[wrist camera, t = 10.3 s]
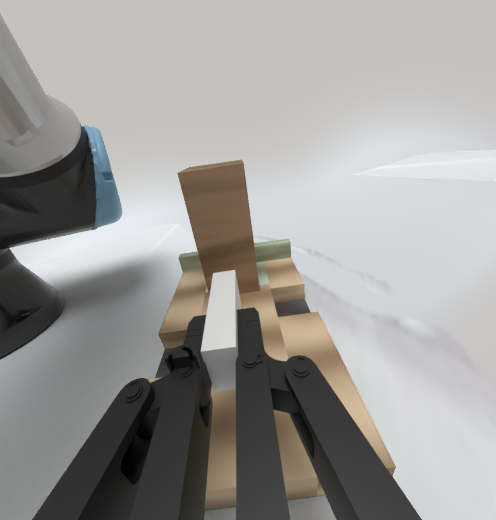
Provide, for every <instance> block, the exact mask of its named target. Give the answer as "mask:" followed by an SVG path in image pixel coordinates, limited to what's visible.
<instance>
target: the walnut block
mask: <svg viewBox="0 0 496 520" xmlns="http://www.w3.org/2000/svg"><path fill="white" fill-rule="evenodd" d="M178 177H179V181H180V184H181V188H182V192H183V196H184V200H185V204H186V208H187V212H188V215H189V219H190V223H191V227H192V231H193V235H194V239H195V242H196V246H197V250H198V254H199V258H200V262H201V266H202V270H203V273H204V277H205V281H206V285H207V289H208V293H209V296H210V290H211V284H212V278H213V273H217V272H224V271H231V270H235V273H236V278H237V284H238V289H239V294H242V293H249V292H256V291H260V287H259V279H258V271H257V264H256V256H255V248H254V241H253V233H252V225H251V218H250V210H249V203H248V194H247V187H246V179H245V171H244V164H243V161H242V160H236V161H230V162H223V163H216V164H210V165H202V166H196V167H189V168H187V169H185V170H183V171H181V172H178Z"/></svg>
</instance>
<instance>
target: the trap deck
mask: <svg viewBox="0 0 496 520" xmlns="http://www.w3.org/2000/svg"><path fill="white" fill-rule="evenodd" d="M254 248H255V256H256V264H257V271H258V279H259V287H260V291H256V292H249V293H242V294H240V300H241V309H245V308H252V307H255V309H256V310H257V311H258V312H259V317H260V324H261V331H262V337H263V344H264V349H265V351H266V353H267V354H268V355H269V356H270V357H271V358H273V359H276V360H280V361H287V360H288V359H289V358H291V357H292V356H297V355H301V356H306V357H308V358H310V359H311V360H312V361H313V362H314V363H315V364H316V365H317V367H318V368H319V370H320V371H321V373H322V374H323V376H324V377H325V379H326V380H327V382H328V383H329V384H330V386H331V387H332V389H333V390H334V392H335V393H336V395H337V396H338V398H339V399H340V401H341V402H342V404H343V405H344V406H345V408H346V409H347V411H348V412H349V414H350V415H351V417H352V418H353V420H354V421H355V423H356V424H357V426H358V427H359V428H360V430H361V431H362V433H363V434H364V436H365V437H366V439H367V440H368V442H369V443H370V445H371V446H372V448H373V449H374V450H375V452H376V453H377V455H378V456H379V458H380V459H381V461H382V462H383V464H384V465H385V467H386V468H387V470H388V471H389V472H390V474H391V475H392V476H393V473H394V470H395V468H396V466H395V464H394V462H393V460H392V458H391V456H390V454H389V452H388V450H387V448H386V446H385V444H384V442H383V440H382V438H381V436H380V434H379V432H378V430H377V428H376V426H375V424H374V422H373V420H372V418H371V416H370V414H369V412H368V410H367V408H366V406H365V404H364V402H363V400H362V398H361V396H360V394H359V392H358V390H357V388H356V386H355V384H354V382H353V380H352V378H351V376H350V374H349V372H348V370H347V368H346V366H345V364H344V362H343V360H342V358H341V356H340V354H339V352H338V351H337V349H336V347H335V345H334V343H333V341H332V339H331V337H330V335H329V333H328V331H327V329H326V327H325V325H324V323H323V321H322V319H321V317H320V315H319V313H318V312H312V313H311V312H310V310H309V308H308V306H307V303H306V301H305V299H304V283H303V281H302V279H301V277H300V275H299V273H298V271H297V269H296V267H295V265H294V263H293V261H292V259H291V248H290V241H289V239H283V240H276V241H269V242H262V243H255V244H254ZM179 261H180V264H181V267H182V271H183V274H182V277H181V279H180V282H179V284H178V287H177V289H176V292H175V294H174V297H173V299H172V301H171V304H170V306H169V309H168V311H167V314H166V316H165V319H164V321H163V324H162V326H161V329H160V331H159V333H158V334H159V336H160V339H161V341H162V343H163V346H164V348H165V351H164V354H163V357H162V359H161V362H160V365H159V368H158V371H157V374H156V377H155V378H154V379H147V380H148V381H149V382H150V383H151V382H153V381H156V380H158V379H160V378H162V377H164V376H166V375H168V374H169V373H170V371H169V369H168V367H167V364H166V362H165V360H164V359H165V357H166V356H167V354H168V353H169V352H170V351H171V350H172V349H174V348H176V347H177V346H181V345H183V343H184V339H185V335H186V332H187V327H188V323H189V322H190V321H191V319H192V318H193V317H194V316H201V315H207V309H208V303H209V293H208V289H207V285H206V281H205V277H204V273H203V270H202V266H201V262H200V258H199V254H198V252H192V253H185V254H180V256H179ZM211 397H212V402H213V408H212V421H211V434H210V447H209V460H208V472H207V485H206V498H205V510H212V509H220V508H228V507H236V388H235V389H228V390H221V391H213V388H212V387H211ZM274 416H275V423H276V430H277V437H278V443H279V450H280V457H281V463H282V470H283V477H284V483H285V490H286V497H287V500H291V499H299V498H307V497H315V496H323V495H325V493H324V490H323V488H322V486H321V484H320V482H319V479H318V477H317V475H316V473H315V470H314V468H313V466H312V464H311V461H310V459H309V457H308V455H307V453H306V450H305V448H304V446H303V444H302V441H301V439H300V437H299V435H298V432H297V430H296V428H295V426H294V424H293V421H292V419H291V417H290V415H289V413H286V412H282V411H277V410H274Z"/></svg>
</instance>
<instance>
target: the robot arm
mask: <svg viewBox="0 0 496 520" xmlns="http://www.w3.org/2000/svg"><path fill="white" fill-rule="evenodd" d="M121 216H122V208H121V203H120V199H119V195H118V192H117V188H116V184H115V181H114V178H113V175H112V170H111V167H110V163H109V159H108V155H107V152H106V149H105V145H104V142H103V139H102V136H101V133H100V131H99V130H98V129H97V128H94V127H89V126H86V125H85V126H81V124H80V123H79V120H78V118H77V117H76V115H75V114H74V112H73V111H72V110H71V109H70V108H69V107H68V106H67V105H65V104H64V103H62V102H61V101H59V100H57V99H55V98H53V97H51V96H48V95H46V94H45V92H44V91H43V89H42V87H41V85H40V84H39V82H38V80H37V78H36V77H35V75H34V73H33V71H32V69H31V68H30V66H29V64H28V63H27V61H26V59H25V57H24V55H23V53H22V52H21V50H20V48H19V46H18V45H17V43H16V41H15V39H14V37H13V36H12V34H11V32H10V30H9V29H8V27H7V25H6V24H5V22H4V20H3V18H2V16H1V14H0V357H2V356H4V355H6V354H8V353H10V352H11V351H13V350H15V349H17V348H18V347H20V346H22V345H23V344H25V343H26V342H28V341H29V340H31V339H32V338H34V337H35V336H36V335H38V334H39V333H40V332H42V331H43V330H44V329H45V328H47V327H48V326H49V325H50V324H51V323H52V322H53V321H54V320H55V319H56V318H57V317H58V315H59V314H60V313H61V311H62V309H63V306H64V302H63V300H62V298H61V297H60V295H59V294H58V292H57V291H56V290H55V289H54V288H53V287H52V286H51V285H49V284H48V283H46V282H45V281H44V280H42V279H41V278H40V277H38V276H37V275H35V274H34V273H33V272H31V271H30V270H29V269H27V268H26V267H24V266H23V265H21V264H20V262H18V260H17V259H16V257H15V256H14V255H13V253H12V252H11V250H10V249H9V248H10V247H15V246H19V245H24V244H28V243H32V242H38V241H42V240H47V239H51V238H56V237H60V236H65V235H70V234H74V233H78V232H83V231H88V230H95V229H97V228H98V227H101V226H104V225H108V224H111V223H114V222H116V221H118V220H119V219H120V217H121ZM164 360H165V362H166V364H167V367H168V369H169V371H170V373H169V374H168V375H166V376H164V377H162V378H160V379H158V380H156V381H153V382H151V383H150V382H149V381H148V380H147V379H145V378H139V379H136V380H133V381H131V382H130V383H128V384H127V385H126V386H124V388H123V389H122V390H121V391H120V392H119V394H118V395H117V397H116V398H115V400H114V401H113V403H112V404H111V405H110V407H109V408H108V410H107V411H106V413H105V414H104V416H103V417H102V419H101V420H100V422H99V423H98V424H97V426H96V427H95V429H94V430H93V432H92V433H91V435H90V436H89V438H88V439H87V440H86V442H85V443H84V445H83V446H82V448H81V449H80V451H79V452H78V454H77V455H76V457H75V458H74V459H73V461H72V462H71V464H70V465H69V467H68V468H67V470H66V471H65V473H64V474H63V476H62V477H61V478H60V480H59V481H58V483H57V484H56V486H55V487H54V489H53V490H52V492H51V493H50V495H49V496H48V497H47V499H46V500H45V502H44V503H43V505H42V506H41V508H40V509H39V511H38V512H37V514H36V515H35V516H34V518H33V519H32V520H204V511H205V498H206V485H207V472H208V460H209V447H210V434H211V421H212V408H213V402H212V397H211V387H212V388H213V391H221V390H228V389H235V388H236V520H290V517H289V510H288V504H287V497H286V490H285V483H284V477H283V470H282V463H281V457H280V450H279V443H278V437H277V430H276V423H275V416H274V410H277V411H282V412H286V413H289V415H290V417H291V419H292V421H293V424H294V426H295V428H296V430H297V432H298V435H299V437H300V439H301V441H302V444H303V446H304V448H305V450H306V453H307V455H308V457H309V459H310V461H311V464H312V466H313V468H314V470H315V473H316V475H317V477H318V479H319V482H320V484H321V486H322V488H323V490H324V493H325V495H326V497H327V499H328V502H329V504H330V506H331V508H332V511H333V513H334V515H335V517H336V520H422V519H421V518H420V516H419V515H418V513H417V512H416V511H415V509H414V508H413V506H412V505H411V503H410V502H409V500H408V499H407V497H406V496H405V494H404V493H403V491H402V490H401V489H400V487H399V486H398V484H397V483H396V481H395V480H394V478H393V477H392V475H391V474H390V472H389V471H388V470H387V468H386V467H385V465H384V464H383V462H382V461H381V459H380V458H379V456H378V455H377V453H376V452H375V450H374V449H373V448H372V446H371V445H370V443H369V442H368V440H367V439H366V437H365V436H364V434H363V433H362V431H361V430H360V428H359V427H358V426H357V424H356V423H355V421H354V420H353V418H352V417H351V415H350V414H349V412H348V411H347V409H346V408H345V406H344V405H343V404H342V402H341V401H340V399H339V398H338V396H337V395H336V393H335V392H334V390H333V389H332V387H331V386H330V384H329V383H328V382H327V380H326V379H325V377H324V376H323V374H322V373H321V371H320V370H319V368H318V367H317V365H316V364H315V363H314V362H313V361H312V360H311V359H310V358H308V357H306V356H301V355H297V356H292V357H291V358H289V359H288V360H287V361H280V360H276V359H273V358H271V357H270V356H269V355H268V354H267V353H266V351H265V349H264V344H263V337H262V331H261V324H260V317H259V312H258V311H257V310H256V309H255V307H252V308H245V309H241V300H240V294H239V289H238V284H237V278H236V273H235V270H231V271H224V272H217V273H213V278H212V284H211V290H210V296H209V303H208V309H207V315H201V316H194V317H193V318H192V319H191V321H190V322H189V323H188V327H187V332H186V335H185V339H184V343H183V345H181V346H177V347H176V348H174V349H172V350H171V351H170V352H169V353H168V354H167V356H166V357H165V359H164Z"/></svg>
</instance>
